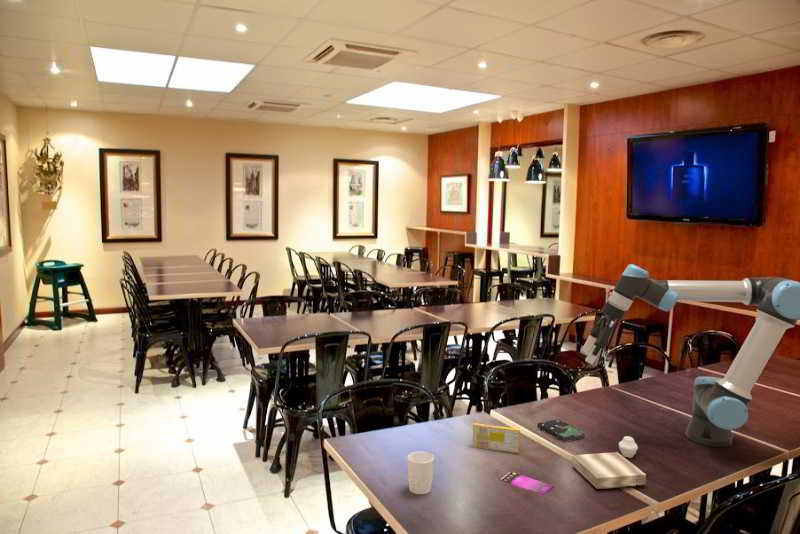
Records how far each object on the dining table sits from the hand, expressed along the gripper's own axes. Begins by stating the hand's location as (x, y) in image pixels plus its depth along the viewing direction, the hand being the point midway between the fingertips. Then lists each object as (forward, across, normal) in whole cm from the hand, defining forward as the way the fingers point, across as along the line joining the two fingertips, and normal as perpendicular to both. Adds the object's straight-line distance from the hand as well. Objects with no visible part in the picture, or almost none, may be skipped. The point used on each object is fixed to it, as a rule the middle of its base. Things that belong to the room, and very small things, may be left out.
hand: (586, 357), depth 206 cm
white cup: (+50, +50, -33) cm, 78 cm away
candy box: (+41, +16, -14) cm, 46 cm away
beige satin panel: (+25, +28, +17) cm, 42 cm away
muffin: (+22, +11, +26) cm, 35 cm away
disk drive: (+32, -4, +7) cm, 33 cm away
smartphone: (+37, +38, -5) cm, 53 cm away
